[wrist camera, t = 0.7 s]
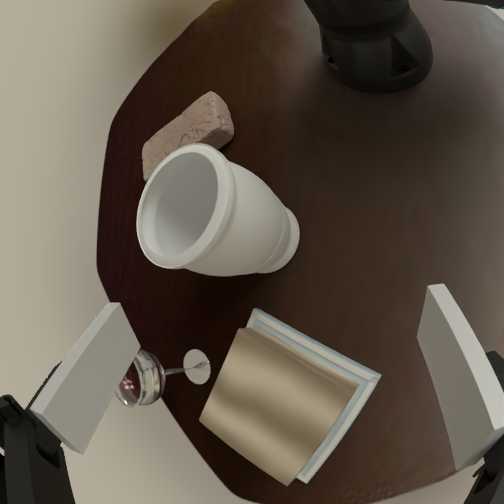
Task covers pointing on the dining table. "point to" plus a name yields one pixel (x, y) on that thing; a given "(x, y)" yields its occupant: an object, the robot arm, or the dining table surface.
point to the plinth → (275, 403)
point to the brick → (190, 131)
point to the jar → (213, 217)
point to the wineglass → (157, 377)
